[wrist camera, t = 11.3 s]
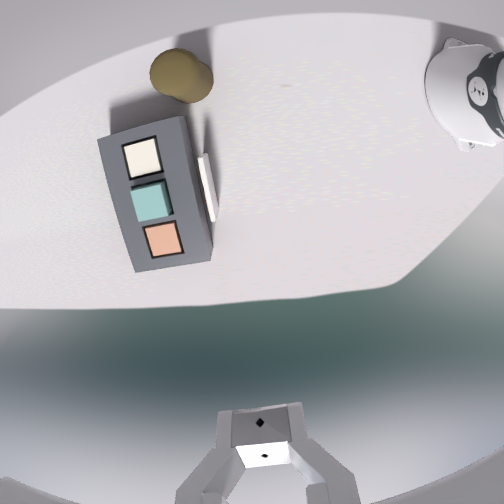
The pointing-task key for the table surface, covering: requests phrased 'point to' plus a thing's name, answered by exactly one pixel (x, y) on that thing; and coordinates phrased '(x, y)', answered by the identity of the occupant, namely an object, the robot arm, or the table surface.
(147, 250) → the keypad
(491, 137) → the robot arm
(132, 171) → the cream key
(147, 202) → the teal key
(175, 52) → the cork
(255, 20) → the table surface
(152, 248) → the terracotta key
